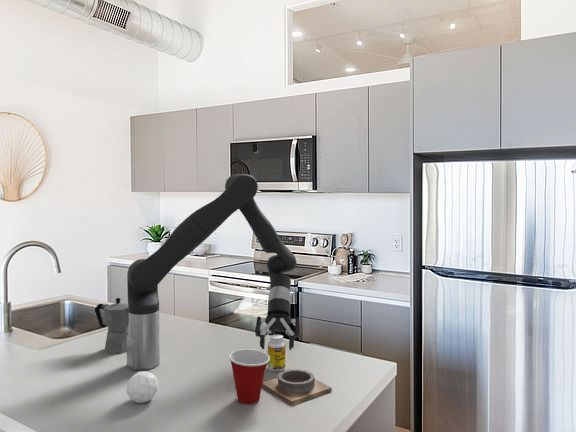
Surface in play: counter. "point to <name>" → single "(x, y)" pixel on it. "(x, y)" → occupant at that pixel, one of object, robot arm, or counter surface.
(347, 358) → the counter surface
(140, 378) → the geometric ball
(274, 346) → the supplement bottle
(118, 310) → the coffeepot
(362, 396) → the counter surface
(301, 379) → the ring collar
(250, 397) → the plastic cup
